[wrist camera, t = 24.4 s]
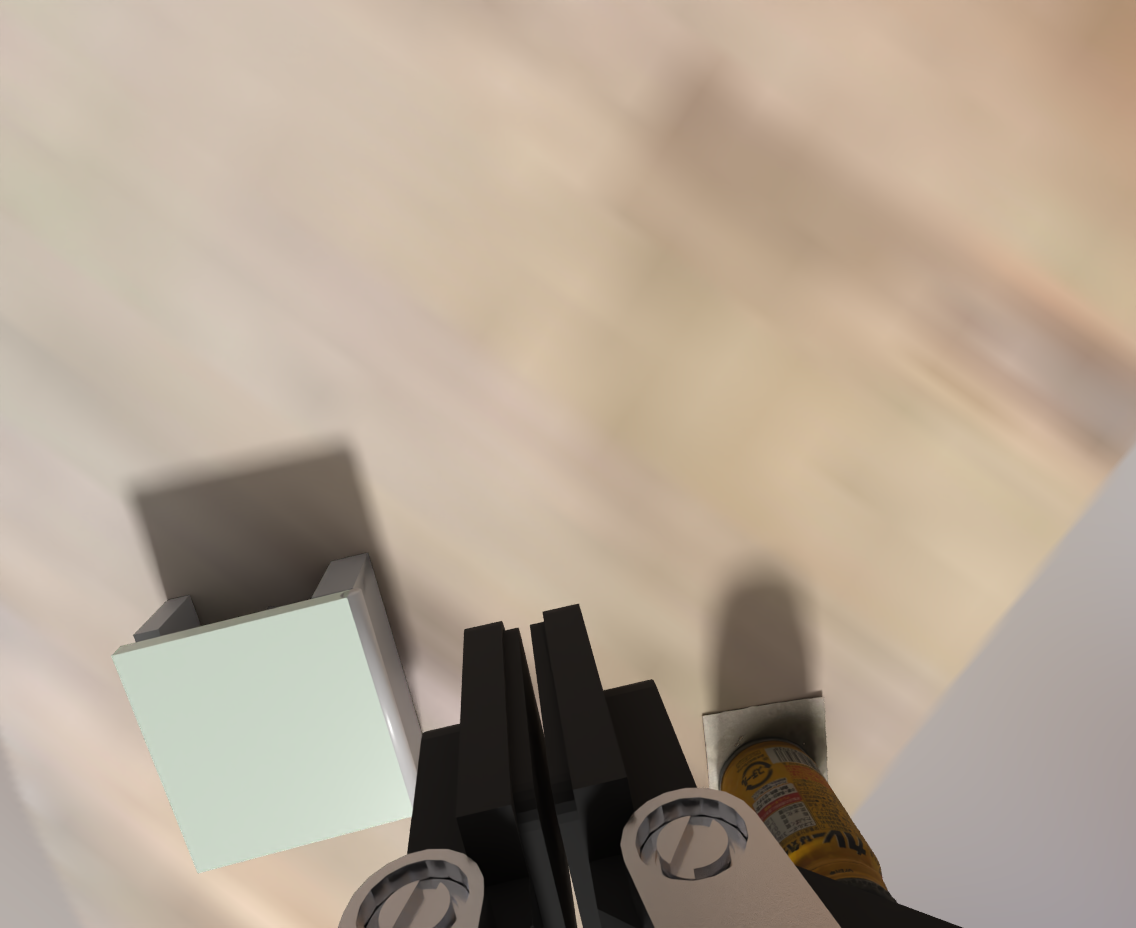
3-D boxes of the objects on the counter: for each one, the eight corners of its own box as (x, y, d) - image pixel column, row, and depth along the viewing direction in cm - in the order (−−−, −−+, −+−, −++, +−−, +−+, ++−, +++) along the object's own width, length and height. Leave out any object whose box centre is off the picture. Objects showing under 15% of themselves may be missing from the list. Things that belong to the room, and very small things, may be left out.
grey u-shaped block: (167, 600, 42) (125, 642, 38) (368, 552, 43) (352, 588, 38) (238, 792, 45) (208, 854, 41) (425, 745, 46) (418, 801, 41)
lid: (120, 645, 37) (111, 656, 36) (362, 586, 38) (359, 594, 37) (204, 859, 40) (197, 873, 39) (427, 799, 41) (426, 812, 40)
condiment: (714, 836, 49) (783, 1010, 38) (701, 714, 47) (771, 858, 36) (828, 815, 50) (932, 981, 38) (821, 693, 48) (929, 829, 36)
